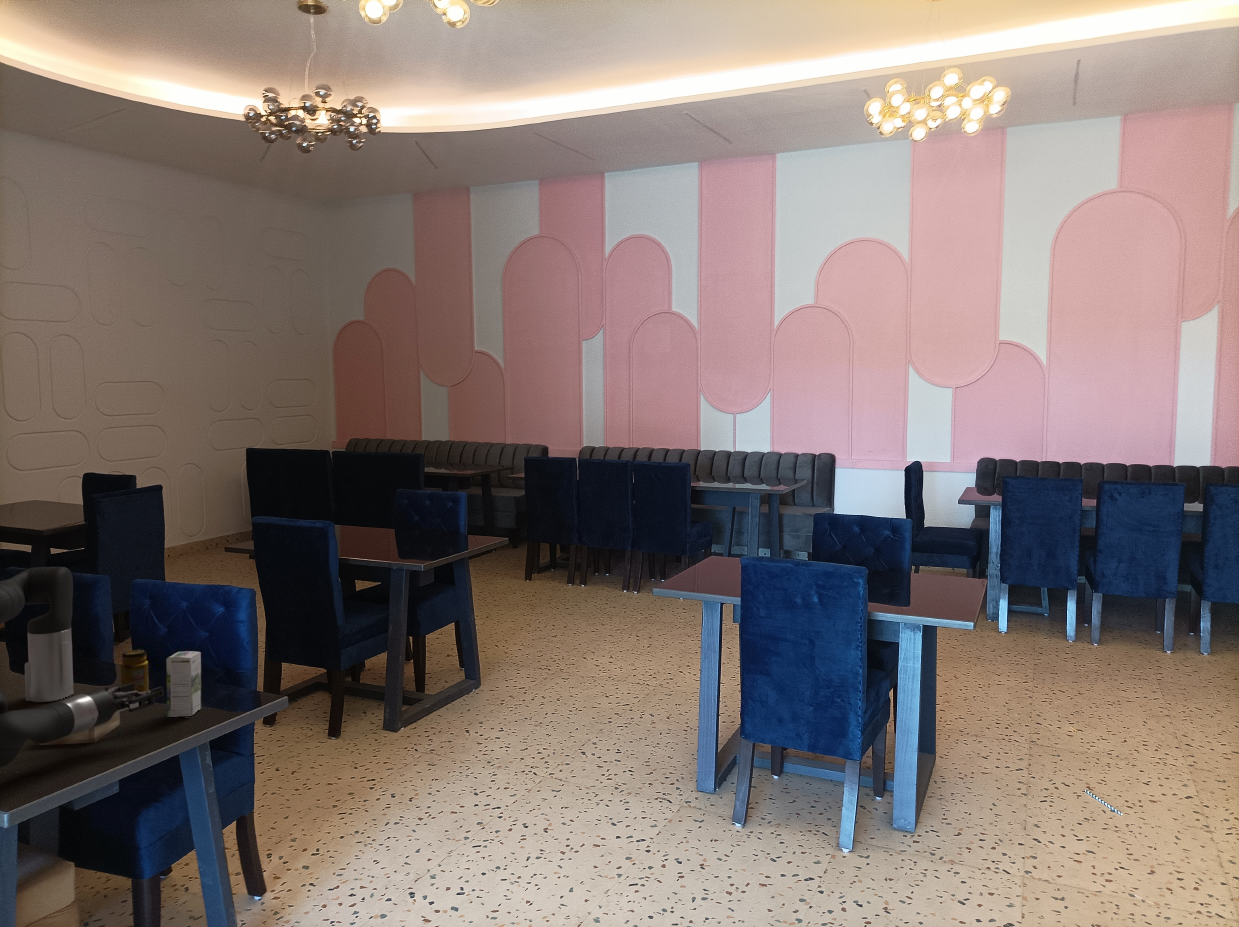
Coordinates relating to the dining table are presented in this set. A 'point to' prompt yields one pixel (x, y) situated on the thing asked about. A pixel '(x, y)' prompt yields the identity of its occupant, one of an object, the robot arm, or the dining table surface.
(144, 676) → the condiment
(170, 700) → the syrup box
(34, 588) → the robot arm
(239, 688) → the dining table surface
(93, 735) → the wooden tray
